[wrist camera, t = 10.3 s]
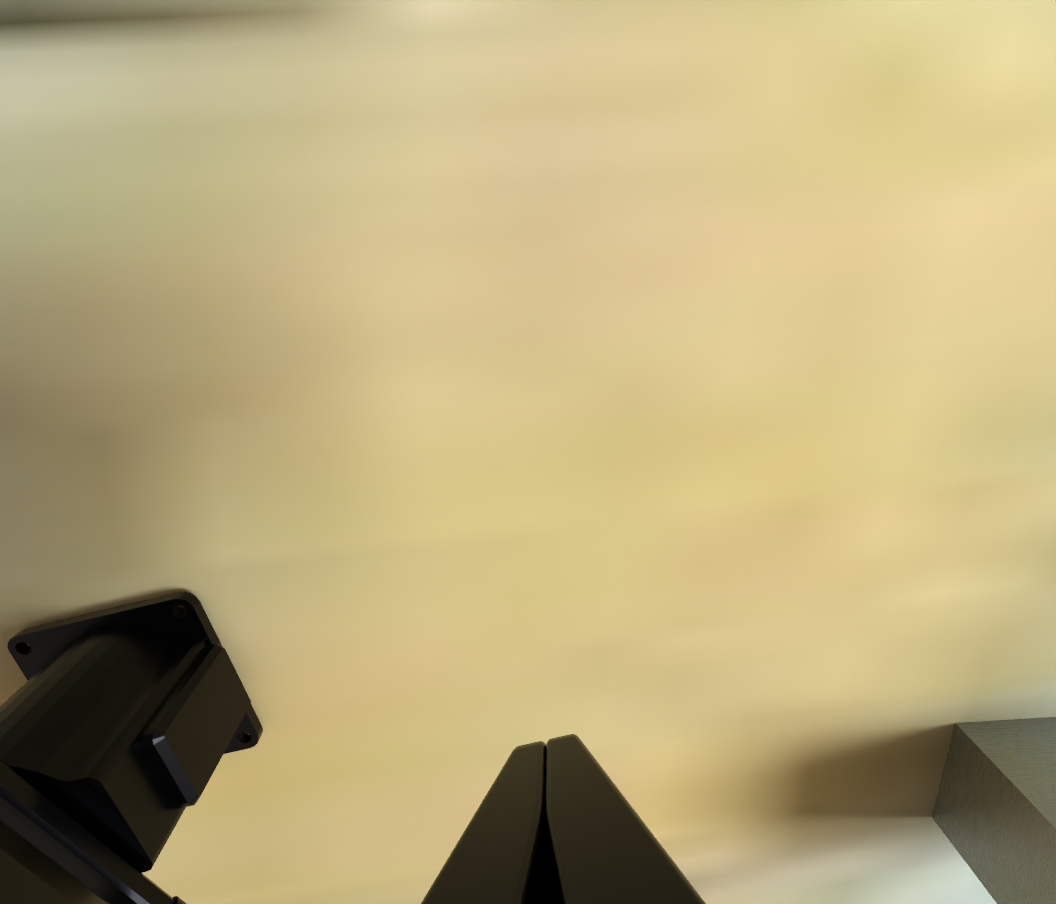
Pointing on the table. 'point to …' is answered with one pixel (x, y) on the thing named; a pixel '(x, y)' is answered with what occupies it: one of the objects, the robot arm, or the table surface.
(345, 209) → the table surface
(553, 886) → the robot arm
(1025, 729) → the silver rectangular block
